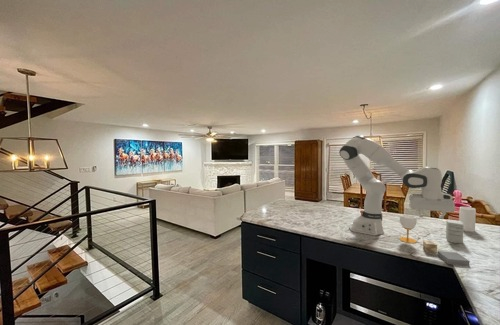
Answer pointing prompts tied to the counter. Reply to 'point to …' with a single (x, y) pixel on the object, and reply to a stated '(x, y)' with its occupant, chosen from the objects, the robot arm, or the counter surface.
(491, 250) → the counter surface
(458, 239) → the supplement box
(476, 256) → the counter surface
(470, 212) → the cup
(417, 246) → the counter surface
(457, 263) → the plate
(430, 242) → the maple cube
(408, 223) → the cup
